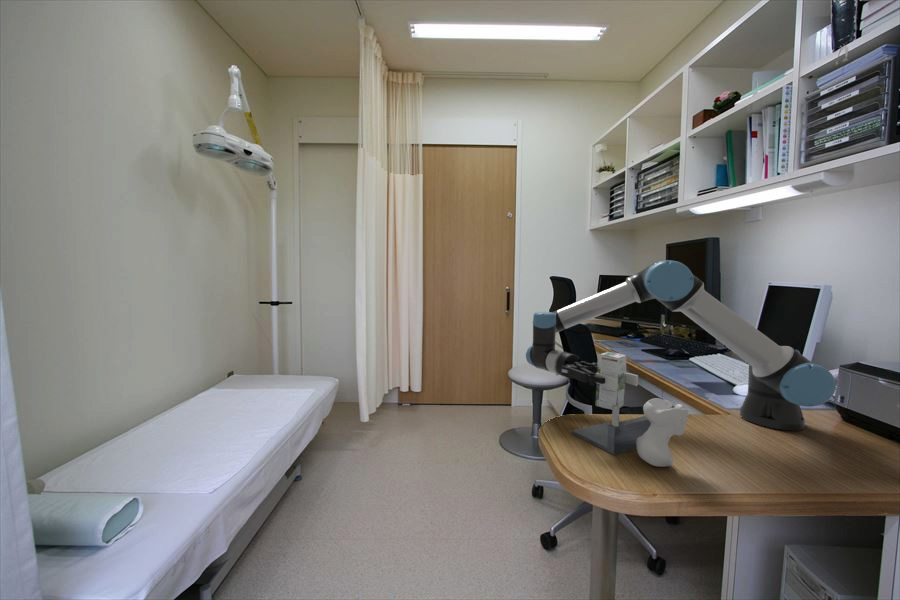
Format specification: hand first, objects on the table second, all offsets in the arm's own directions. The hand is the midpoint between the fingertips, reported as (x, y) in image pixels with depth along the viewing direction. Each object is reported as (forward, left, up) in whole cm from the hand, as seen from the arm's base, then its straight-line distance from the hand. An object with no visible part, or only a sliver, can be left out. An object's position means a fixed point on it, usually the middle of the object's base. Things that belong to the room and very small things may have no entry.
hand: (627, 382), depth 94 cm
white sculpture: (-5, +9, -17) cm, 20 cm away
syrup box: (+3, -4, -8) cm, 10 cm away
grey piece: (+2, -4, -17) cm, 18 cm away
